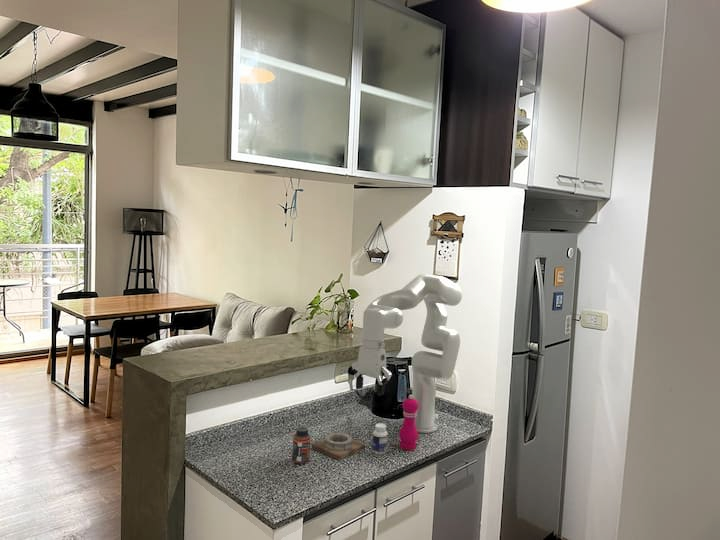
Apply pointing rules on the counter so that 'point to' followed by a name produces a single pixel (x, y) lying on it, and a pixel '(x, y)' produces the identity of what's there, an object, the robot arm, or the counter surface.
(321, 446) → the hub board
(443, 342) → the robot arm
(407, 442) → the pepper mill
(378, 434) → the pill bottle
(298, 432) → the supplement bottle
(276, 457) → the counter surface
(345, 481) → the counter surface
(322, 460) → the counter surface
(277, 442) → the counter surface
